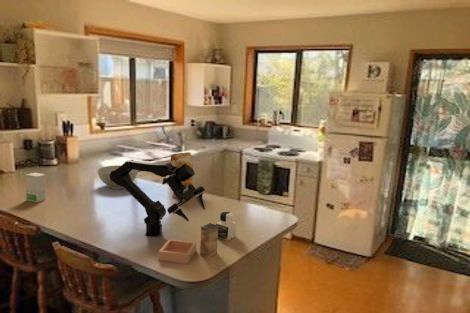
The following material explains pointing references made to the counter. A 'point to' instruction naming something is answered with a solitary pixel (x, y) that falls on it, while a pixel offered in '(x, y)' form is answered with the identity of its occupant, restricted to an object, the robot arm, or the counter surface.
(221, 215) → the medicine bottle
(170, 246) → the pink square tray
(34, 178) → the skincare box
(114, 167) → the decorative bowl
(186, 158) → the pancake mix bag
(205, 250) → the brown rectangular block
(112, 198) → the counter surface
